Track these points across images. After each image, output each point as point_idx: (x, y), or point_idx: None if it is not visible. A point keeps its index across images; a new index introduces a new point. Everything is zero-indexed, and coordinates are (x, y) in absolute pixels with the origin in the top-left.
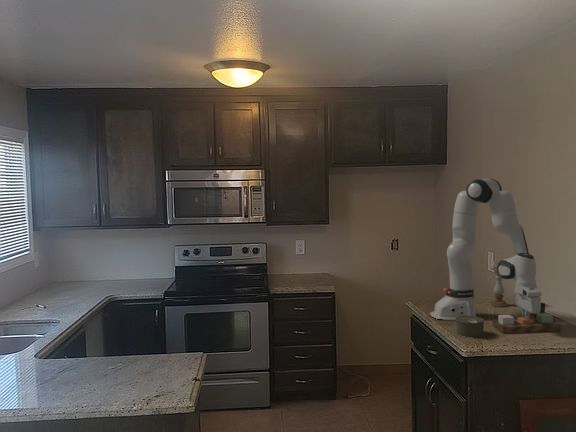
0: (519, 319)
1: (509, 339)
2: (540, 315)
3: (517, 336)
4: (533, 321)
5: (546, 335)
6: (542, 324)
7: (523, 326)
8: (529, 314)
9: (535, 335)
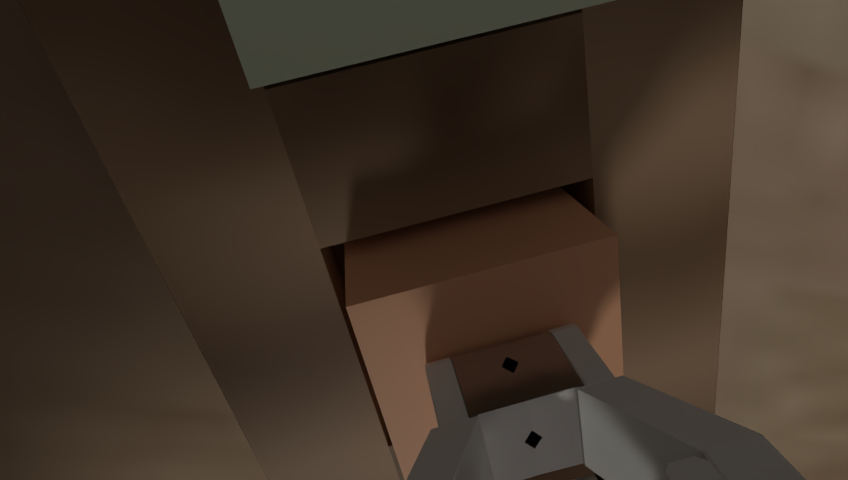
0: None
1: (840, 457)
2: (547, 12)
3: (772, 388)
4: (413, 164)
5: (836, 17)
6: (665, 13)
7: (712, 374)
8: (656, 394)
9: (791, 187)
